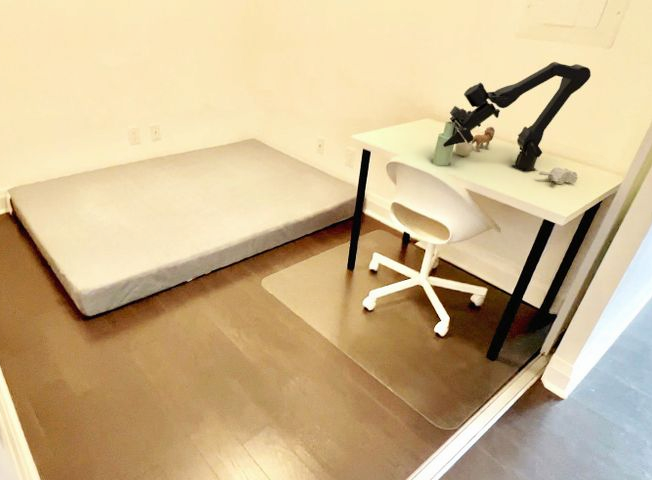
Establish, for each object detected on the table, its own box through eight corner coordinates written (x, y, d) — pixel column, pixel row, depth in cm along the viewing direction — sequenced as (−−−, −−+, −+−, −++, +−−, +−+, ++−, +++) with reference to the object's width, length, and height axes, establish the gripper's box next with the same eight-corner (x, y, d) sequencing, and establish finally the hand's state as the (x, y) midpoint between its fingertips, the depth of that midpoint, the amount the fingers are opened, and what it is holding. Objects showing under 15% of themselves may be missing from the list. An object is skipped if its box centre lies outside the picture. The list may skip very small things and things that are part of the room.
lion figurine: (482, 144, 198) (487, 124, 193) (492, 147, 195) (499, 127, 189) (464, 150, 190) (470, 129, 185) (475, 153, 187) (481, 133, 182)
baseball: (474, 156, 184) (479, 141, 180) (462, 158, 181) (466, 143, 177) (462, 151, 189) (466, 136, 185) (450, 153, 186) (454, 138, 182)
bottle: (452, 164, 175) (462, 124, 166) (439, 166, 173) (449, 126, 163) (441, 159, 180) (451, 120, 171) (429, 160, 177) (438, 121, 168)
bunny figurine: (586, 173, 160) (561, 174, 154) (579, 186, 163) (555, 187, 157) (563, 164, 167) (539, 165, 161) (557, 177, 170) (533, 178, 164)
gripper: (461, 94, 169) (426, 121, 176) (473, 105, 154) (435, 134, 161) (475, 115, 173) (441, 141, 180) (489, 129, 158) (451, 156, 165)
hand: (441, 142), depth 172 cm, fingers closed on bottle, 7 cm apart
